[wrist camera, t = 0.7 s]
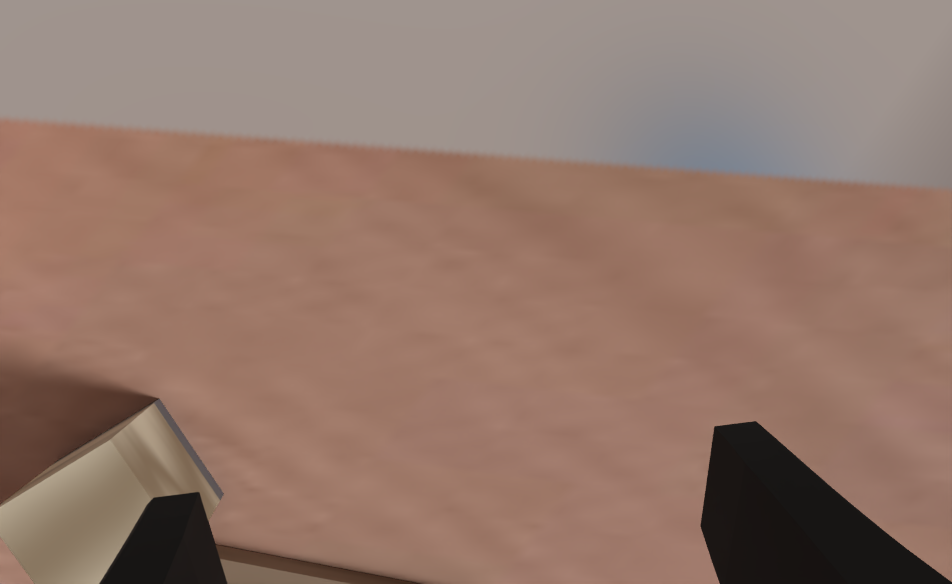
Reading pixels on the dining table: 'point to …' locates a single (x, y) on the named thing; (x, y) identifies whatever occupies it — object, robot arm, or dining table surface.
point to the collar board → (287, 570)
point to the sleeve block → (101, 497)
